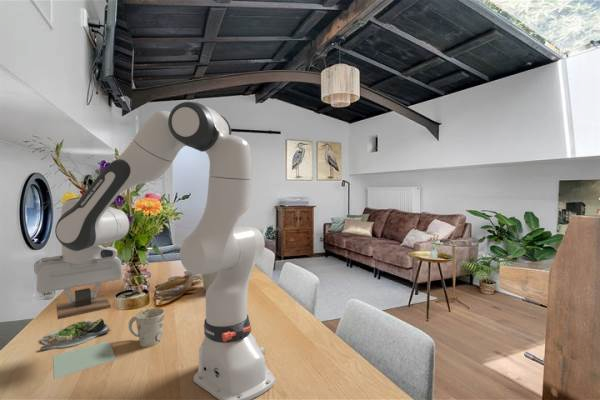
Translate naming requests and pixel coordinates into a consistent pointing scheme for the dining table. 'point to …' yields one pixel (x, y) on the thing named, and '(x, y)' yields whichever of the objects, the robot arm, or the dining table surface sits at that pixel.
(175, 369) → the dining table surface
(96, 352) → the green mat
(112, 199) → the robot arm
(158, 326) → the mug
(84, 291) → the walnut lid
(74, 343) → the salad plate
